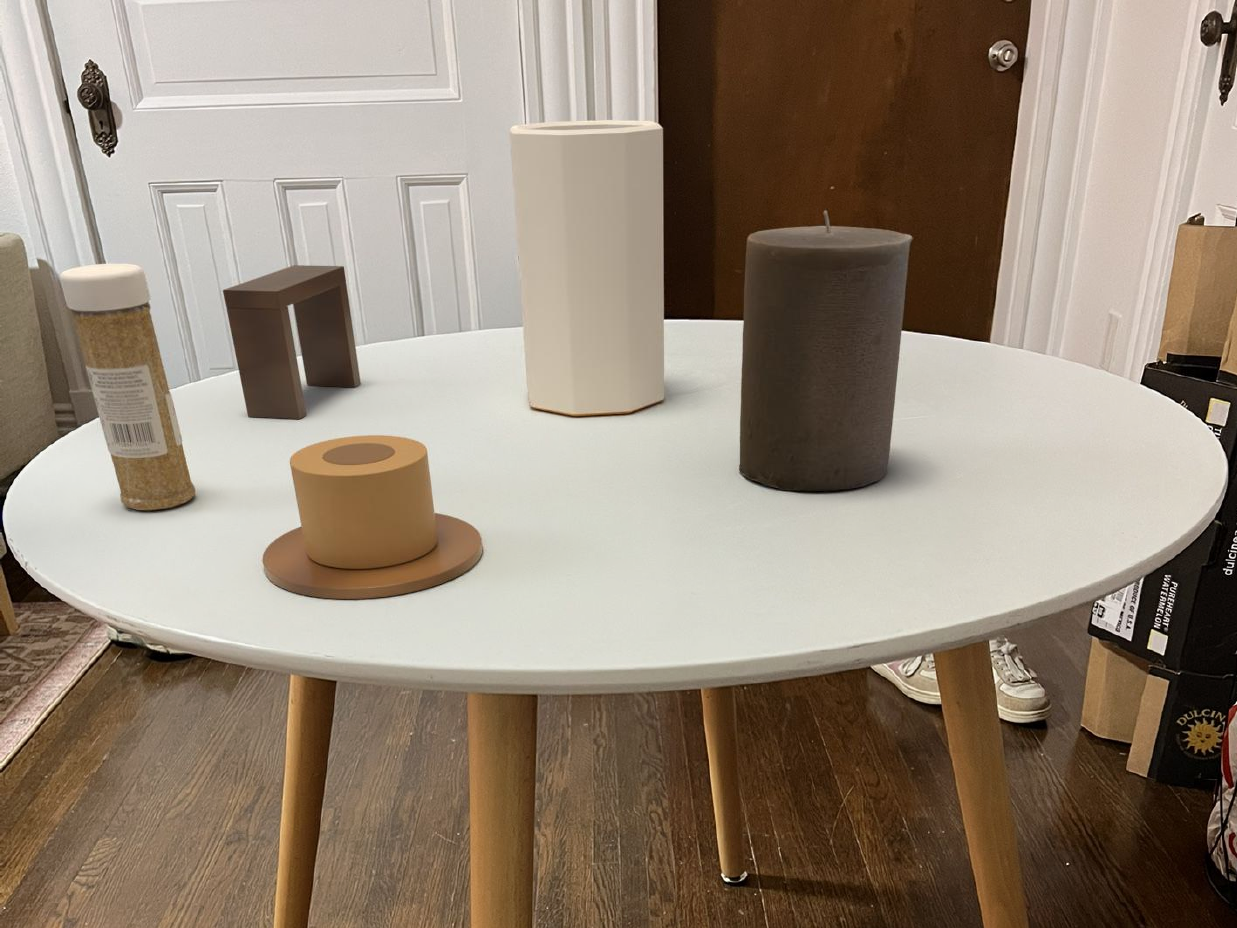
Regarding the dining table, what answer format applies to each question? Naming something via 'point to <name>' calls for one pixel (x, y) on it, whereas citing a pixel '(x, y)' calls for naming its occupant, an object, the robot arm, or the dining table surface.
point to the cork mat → (310, 578)
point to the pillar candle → (820, 355)
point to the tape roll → (365, 501)
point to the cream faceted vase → (591, 263)
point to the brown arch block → (291, 337)
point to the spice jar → (129, 383)
